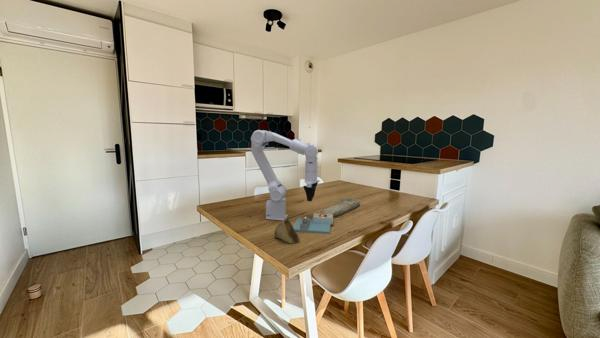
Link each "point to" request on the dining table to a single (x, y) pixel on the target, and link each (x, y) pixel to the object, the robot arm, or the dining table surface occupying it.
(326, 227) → the board
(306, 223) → the metal knob block
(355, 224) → the dining table surface
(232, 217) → the dining table surface
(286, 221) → the rock
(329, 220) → the silver block with hole
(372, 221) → the dining table surface
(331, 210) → the long grey stone
